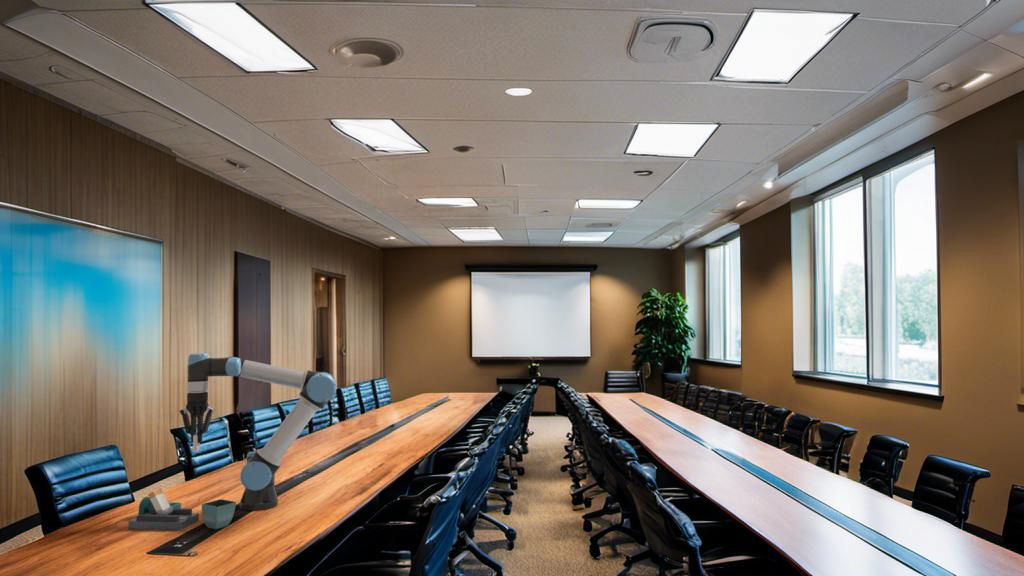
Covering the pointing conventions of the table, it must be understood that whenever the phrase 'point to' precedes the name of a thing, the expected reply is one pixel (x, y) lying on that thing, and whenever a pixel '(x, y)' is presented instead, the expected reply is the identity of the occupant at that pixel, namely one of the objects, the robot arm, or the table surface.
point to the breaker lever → (160, 502)
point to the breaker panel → (164, 523)
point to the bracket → (147, 505)
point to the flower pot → (218, 513)
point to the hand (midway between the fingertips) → (196, 451)
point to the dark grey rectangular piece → (164, 517)
